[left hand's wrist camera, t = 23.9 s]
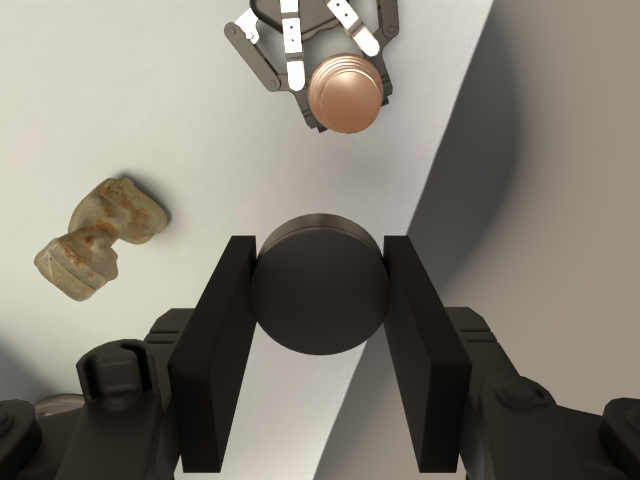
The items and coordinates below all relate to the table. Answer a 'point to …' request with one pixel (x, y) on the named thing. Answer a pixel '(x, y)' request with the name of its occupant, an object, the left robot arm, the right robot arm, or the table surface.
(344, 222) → the cap
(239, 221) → the table surface
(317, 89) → the bottle
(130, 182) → the sculpture
